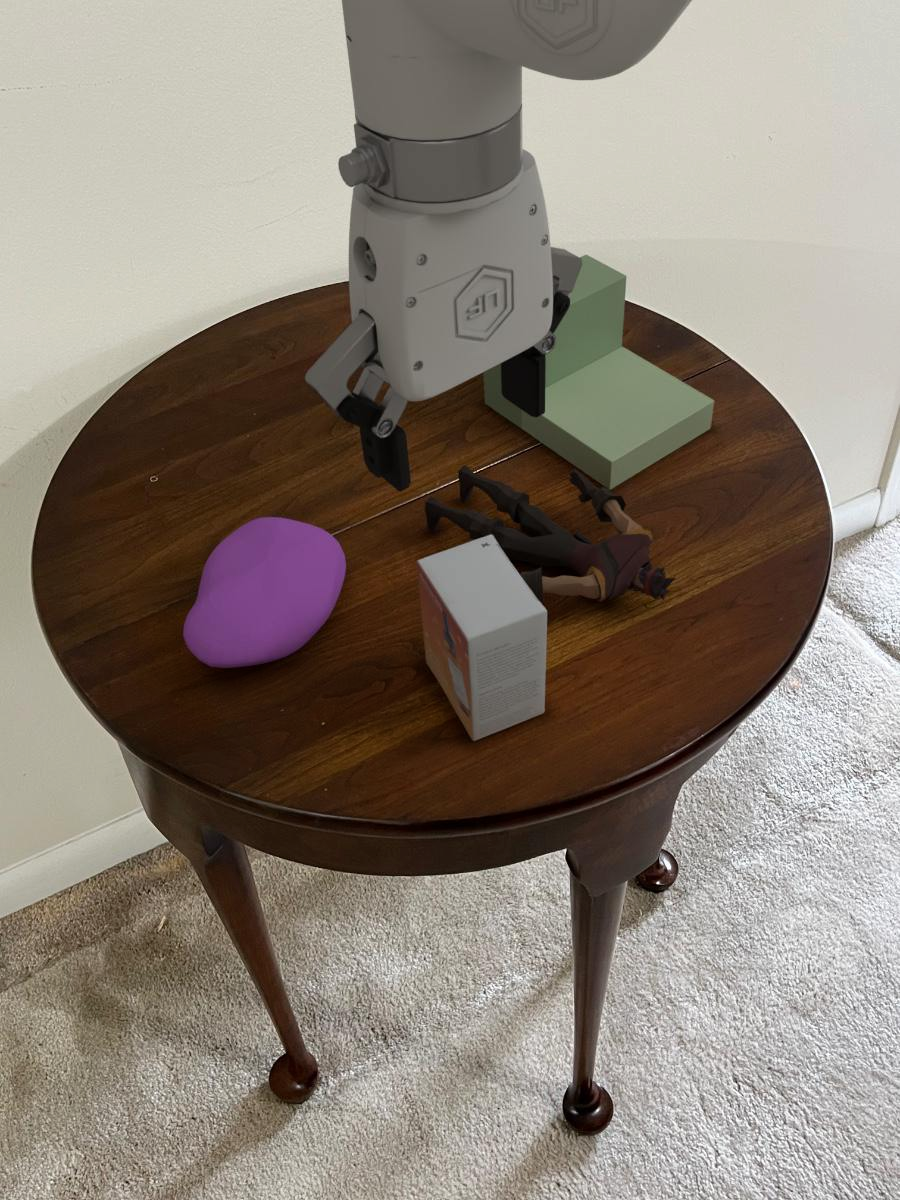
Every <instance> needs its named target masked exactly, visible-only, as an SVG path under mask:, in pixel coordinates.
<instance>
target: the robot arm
mask: <svg viewBox="0 0 900 1200" xmlns="http://www.w3.org/2000/svg"><path fill="white" fill-rule="evenodd" d="M692 1H693V0H341V6H342V7H341V8H342V15H343V23H344V25H343V26H344V32H345V33H344V34H345V41H346V49H347V59H348V66H349V75H350V83H351V91H352V99H353V107H354V117H355V123H354V124H353V130H354V138H355V147H354V148H353V149H352V150H351V152H350V153H347V154H345V155H342V156H340V157H339V158H338V163H337V164H338V165H337V167H338V172H339V174H340V177H341V180H342V181H343V182H344V184H345V185H346V186H348V187H349V188H352V196H351V204H350V215H349V230H348V231H349V232H348V286H349V287H348V288H349V305H350V317H351V323H350V324H349V325H348V327H346V329H345V330H344V331H343V332H342V333H341V334H340V335H339V336H338V338H336V340H335V341H334V342H333V343H331V345H330V346H329V347H328V348H327V349H326V351H324V352H323V354H322V355H320V357H319V358H318V359H317V360H316V361H315V362H314V364H313V365H312V366H311V367H310V368H309V369H308V370H307V371H306V373H305V376H304V381H305V383H306V385H307V386H308V387H309V388H310V389H311V390H312V391H313V392H314V393H315V394H316V395H317V397H319V399H320V400H322V401H323V403H324V404H325V405H326V407H327V408H329V409H330V410H331V411H332V412H333V413H335V414H336V415H338V416H339V418H341V419H342V420H344V421H345V422H346V423H349V424H351V425H354V426H356V427H358V428H359V433H360V435H359V436H360V442H361V448H362V456H363V461H364V465H365V466H366V468H367V470H368V471H369V472H370V473H371V474H372V475H374V477H376V478H378V479H380V478H382V479H383V480H384V481H386V482H387V483H388V484H389V485H390V486H392V488H394V489H395V490H397V492H399V493H402V492H403V491H405V490H407V489H409V488H410V484H411V483H412V480H411V479H412V478H411V470H410V469H411V468H410V461H409V451H408V441H407V434H406V432H405V430H404V428H402V427H401V426H400V425H399V423H398V422H399V421H400V419H401V417H402V415H403V413H404V411H405V410H406V407H407V405H408V403H409V402H422V401H426V400H429V399H432V398H435V397H436V396H439V395H441V394H443V393H445V392H447V391H449V390H451V389H453V388H455V387H456V386H459V385H461V384H463V383H465V382H467V381H469V380H471V379H473V378H475V377H477V376H478V375H481V374H482V373H483V374H484V372H485V371H487V370H488V369H490V368H492V367H494V366H496V365H498V364H500V363H501V391H502V395H503V397H504V398H505V399H507V400H508V401H510V402H511V403H513V404H514V405H515V406H517V407H518V408H520V409H521V410H523V411H524V412H526V413H527V414H529V415H530V416H532V417H535V418H537V417H539V416H541V415H542V414H544V413H545V374H546V358H545V354H548V353H549V352H551V351H552V349H553V348H554V346H555V344H556V336H555V335H554V334H553V333H554V332H555V330H556V329H557V327H558V325H559V324H560V322H561V320H562V319H563V317H564V315H565V314H566V312H567V311H568V309H569V306H570V298H569V297H568V295H569V293H570V292H571V293H572V290H573V288H574V285H575V283H576V280H577V277H578V275H579V272H580V269H581V267H582V259H581V258H580V257H579V256H577V255H575V254H574V253H572V252H571V251H568V250H566V249H565V248H559V247H553V246H551V237H550V226H549V218H548V213H547V205H546V200H545V195H544V191H543V185H542V181H541V178H540V173H539V170H538V165H537V162H536V159H535V157H534V155H533V154H532V153H530V152H529V151H528V150H527V149H526V150H525V149H524V148H523V68H526V69H528V70H532V71H534V72H537V73H541V74H544V75H548V76H550V77H555V78H559V79H565V80H572V81H597V80H602V79H607V78H611V77H614V76H618V75H620V74H621V73H623V72H625V71H627V70H629V69H631V68H632V67H634V66H636V65H637V64H639V63H640V62H641V61H643V60H644V59H645V58H646V57H647V56H648V55H649V54H650V53H651V52H652V51H653V50H654V49H656V47H657V46H658V45H659V44H660V42H662V40H663V39H664V37H666V35H667V34H668V33H669V31H670V30H671V28H672V27H673V26H674V25H675V24H676V22H677V21H678V19H679V18H680V17H681V15H682V14H683V13H684V12H685V10H686V9H687V8H688V6H689V5H690V3H691V2H692ZM361 366H362V367H363V370H362V372H361V374H360V376H359V378H358V380H357V382H356V384H355V386H354V388H353V390H350V389H349V388H348V382H349V380H350V378H351V377H352V376H353V374H354V373H355V372H356V371H357V370H358V369H359V368H360V367H361ZM384 383H386V384H387V385H388V389H387V391H386V392H385V394H384V397H383V398H382V400H381V403H380V404H378V403H377V402H375V401H376V399H377V397H378V394H379V393H380V391H381V388H382V386H383V384H384ZM411 485H412V484H411Z"/></svg>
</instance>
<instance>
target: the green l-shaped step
mask: <svg viewBox="0 0 900 1200" xmlns="http://www.w3.org/2000/svg"><path fill="white" fill-rule="evenodd" d="M579 258H581V259H582V267H581V269H580V272H579V275H578V277H577V280H576V283H575V285H574V288H573V290H572V293H571V292H570V293H569V295H568V297H569V298H570V306H569V309H568V311H567V312H566V314H565V315H564V317H563V319H562V320H561V322H560V324H559V325H558V327H557V329H556V330H555V332H554V333H553V334H554V335H555V336H556V344H555V346H554V348H553V349H552V351H551V352H549V353H548V354H545V358H546V374H545V413H544V414H542V415H541V416H539V417H537V418H535V417H532V416H530V415H529V414H527V413H526V412H524V411H523V410H521V409H520V408H518V407H517V406H515V405H514V404H513V403H511V402H510V401H508V400H507V399H505V398H504V397H503V395H502V391H501V363H500V364H498V365H496V366H494V367H492V368H490V369H488V370H487V371H485V372H483V391H484V393H483V394H484V395H483V396H484V404H485V405H487V406H488V407H490V409H492V410H493V411H495V412H496V413H498V414H499V415H501V416H502V417H504V418H506V420H508V421H509V422H511V423H512V424H513V425H515V426H517V427H518V428H520V429H522V430H523V431H524V432H526V433H527V434H528V435H530V436H531V437H533V438H534V439H535V440H537V441H538V442H539V443H541V444H543V446H545V447H547V448H549V449H550V450H551V451H553V452H554V453H556V454H557V455H558V456H560V457H562V458H563V459H564V460H566V461H567V462H568V463H570V464H572V466H574V467H575V468H577V469H579V470H580V471H581V472H583V473H584V474H586V475H587V476H589V477H590V478H591V479H593V480H595V482H597V483H598V484H601V485H602V486H603V487H608V489H609V490H610V491H611V490H613V489H614V488H615V487H617V486H619V485H621V484H622V483H624V482H625V481H628V480H629V479H631V478H632V477H634V476H636V475H637V474H639V473H640V472H642V471H643V470H645V469H647V468H648V467H650V466H651V465H653V464H656V463H657V462H659V461H660V460H661V459H663V458H666V456H668V455H670V454H672V453H673V452H674V451H677V450H678V449H679V448H681V447H683V446H684V445H686V444H688V443H690V442H691V441H693V440H695V439H696V438H698V437H699V436H701V435H703V434H704V433H706V432H707V431H709V430H710V429H711V428H712V420H713V414H714V407H715V400H714V399H713V398H711V397H710V396H708V395H706V394H705V393H702V392H701V391H699V390H698V389H696V388H693V387H692V386H691V385H689V384H688V383H686V382H684V381H682V380H680V379H679V378H677V377H675V376H673V375H671V374H670V373H668V372H666V371H665V370H664V369H662V368H660V367H658V366H657V365H655V364H653V363H652V362H650V361H648V360H647V359H644V358H643V357H641V356H639V355H638V354H636V353H634V352H633V351H631V350H629V349H628V348H626V347H624V346H623V337H624V336H623V335H624V323H625V322H624V321H625V306H626V289H627V275H626V274H624V273H622V272H620V271H618V270H617V269H615V268H612V267H611V266H609V265H607V264H605V263H604V262H601V261H600V260H597V259H596V258H594V257H592V256H590V255H588V254H584V255H581V256H580V257H579Z"/></svg>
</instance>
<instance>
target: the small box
mask: <svg viewBox="0 0 900 1200" xmlns="http://www.w3.org/2000/svg"><path fill="white" fill-rule="evenodd" d="M416 568H417V580H418V592H419V601H420V602H419V603H420V613H421V623H422V636H423V646H424V654H425V655H424V657H425V663H426V665H427V667H428V668H429V669H430V671H431V673H432V674H433V675H434V677H435V679H436V681H437V682H438V684H439V685H440V687H441V689H442V690H443V692H444V694H445V696H446V697H447V699H448V701H449V703H450V704H451V707H452V708H453V710H454V711H455V713H456V715H457V716H458V718H459V720H460V722H461V723H462V725H463V727H464V728H465V731H466V732H467V734H468V736H469V738H470V739H471V740H472V741H473V742H475V741H478V740H480V739H483V738H485V737H488V736H490V735H493V734H496V733H498V732H501V731H503V730H506V729H508V728H511V727H513V726H515V725H519V724H521V723H523V722H525V721H528V720H530V719H531V720H532V719H533V718H535V717H538V716H541V715H543V714H545V711H546V709H545V708H546V707H545V706H546V672H547V641H548V640H547V637H548V636H547V634H548V610H547V609H546V607H545V606H544V605H543V603H542V602H540V601H539V600H538V599H537V598H536V596H535V595H534V594H533V592H532V591H531V589H530V588H529V587H528V585H527V584H526V583H525V581H524V580H523V578H522V577H521V576H520V574H521V573H519V571H518V569H516V567H515V566H514V564H513V563H512V562H511V559H510V558H508V557H507V556H506V555H505V553H504V552H503V550H502V549H501V547H500V546H499V544H498V542H497V541H496V539H495V537H494V536H493V535H488V536H485V537H482V538H479V539H476V540H471V541H468V542H465V543H462V544H460V545H457V546H454V547H452V548H448V549H446V550H442V551H440V552H437V553H434V554H431V555H428V556H426V557H423V558H420V559H418V560H417V561H416Z"/></svg>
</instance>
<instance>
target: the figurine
mask: <svg viewBox="0 0 900 1200" xmlns="http://www.w3.org/2000/svg"><path fill="white" fill-rule="evenodd" d="M568 474H569V478H568V481H569V482H570V483H571V484H572V485H573V486H575V487H576V488H577V489H578V491H579V492H580V493H579V494H578V496H577V498H578V500H579V502H580V503H581V504H585V503H587V502H589V501H591V505H592V508H593V509H594V510H595V514H596V516H597V518H598V519H599V522H600V523H612V524H613V527H614V529H615V530H616V532H618V533H617V534H615V535H613V536H611V537H609V538H608V539H606V540H604V541H601V542H598V543H595V544H592V541H591V540H590V539H589V538H588V537H586V536H585V535H583V534H582V533H580V532H576V533H574V534H573V535H572V533H570V531H568V530H567V529H566V528H564V527H563V526H561V525H559V524H557V523H555V522H553V521H552V519H551V518H550V517H549V516H548V515H547V514H546V512H545V511H543V510H542V508H541V507H540V506H537V505H532V504H531V503H530V495H529V494H527V493H525V492H517V491H516V490H515V488H514V487H513V486H512V485H510V484H506V483H505V482H503V481H501V480H495V479H490V478H486V477H483V476H481V475H479V474H477V473H475V472H473V470H471V469H470V468H469V467H468V466H467V465H464V464H463V466H461V467H460V468H459V469H458V475H457V479H458V483H459V497H460V500H461V502H462V503H464V504H466V503H467V502H468V501H469V500H470V498H471V496H472V493H473V490H474V488H478V489H479V490H481V491H482V492H483V493H485V494H486V495H487V496H488V498H489V499H490V500H491V501H492V502H493V504H495V505H496V510H497V511H499V512H501V513H507V514H508V515H509V517H510V519H511V520H512V522H513V523H515V524H518V525H519V526H520V530H521V531H519V530H517V529H515V528H513V527H505V521H504V520H502V519H500V518H490V517H489V516H488V515H486V514H485V513H483V512H481V511H478V512H476V511H474V510H472V509H463V510H462V509H458V508H454V507H450V506H447V505H445V504H444V503H442V502H440V501H439V500H437V499H436V498H435V497H433V496H430V497H429V498H427V500H425V501H424V512H425V517H426V527H427V529H428V530H429V531H430V533H433V534H435V533H436V532H437V531H439V529H440V525H441V519H442V518H445V519H447V520H449V521H450V522H452V523H453V524H455V526H457V527H459V528H460V529H461V530H463V531H464V532H466V533H468V538H469V539H471V540H472V541H474V540H476V539H479V538H482V537H485V536H488V535H493V536H494V537H495V539H496V541H497V542H498V544H499V546H500V547H501V549H502V550H503V552H504V553H505V555H506V556H507V557H508V559H509V560H517V561H523V562H526V563H527V562H528V563H530V564H533V565H537V566H539V568H536V569H534V570H533V571H521V572H520V573H519V574H520V576H521V577H522V578H523V580H524V581H525V583H526V584H527V585H528V587H529V588H530V589H531V591H532V592H533V594H534V595H535V596H536V598H537V599H538V600H539V601H540V602H541V603H542V604H544V603H545V601H544V594H554V595H555V594H556V595H559V596H569V597H572V596H582V597H584V598H586V599H587V598H588V599H593V600H594V599H595V601H597V602H602V601H604V600H608V601H609V600H611V599H612V598H615V597H620V596H625V594H626V593H627V592H628V591H631V590H632V591H633V592H640V594H645V596H650V597H651V598H653V599H654V600H658V599H659V598H660V599H662V600H663V601H664V602H665V595H667V594H669V593H670V592H672V591H671V590H669V589H668V588H669V587H670V585H671V584H672V583H673V582H674V581H675V580H676V577H670V578H669V577H668V578H667V575H666V571H665V569H666V566H664V567H655V566H653V565H652V564H651V558H650V557H649V554H650V546H651V543H652V541H653V535H652V532H651V531H650V530H649V529H644V527H642V526H641V525H640V524H638V523H637V522H635V521H634V520H633V519H632V518H631V517H630V516H629V515H628V514H627V513H625V512H624V511H625V508H626V506H627V504H626V501H625V499H624V498H623V496H622V495H618V494H614V493H612V491H611V490H609V489H608V487H605V486H603V487H600V488H598V487H597V486H596V485H594V484H593V483H592V482H591V481H590V480H589V479H588V478H587V477H586V476H584V475H583V474H582V472H580V471H579V470H577V469H576V468H573V469H570V472H569V473H568ZM542 567H565V568H570V569H571V570H574V571H575V572H577V573H578V574H579V575H580V576H575V575H574V576H573V575H560V576H559V575H558V576H556V577H550V576H549V577H548V576H544V575H543V572H542V571H543V570H542V569H543V568H542Z"/></svg>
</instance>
